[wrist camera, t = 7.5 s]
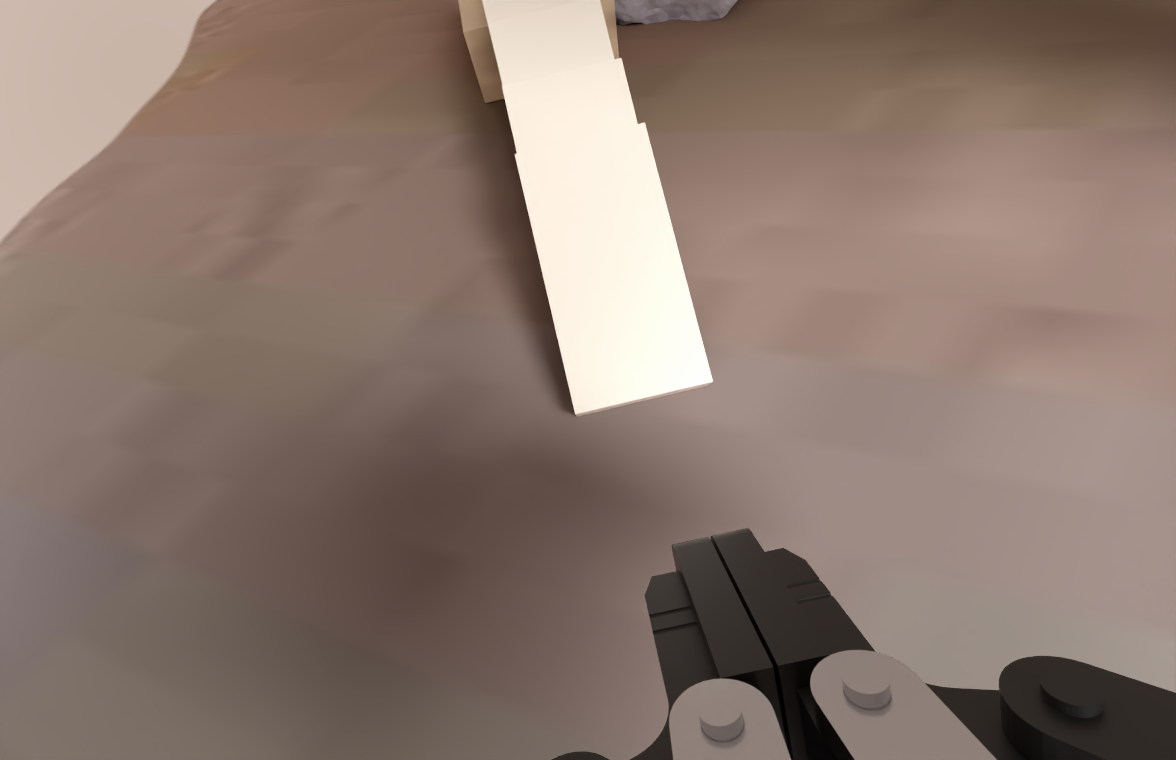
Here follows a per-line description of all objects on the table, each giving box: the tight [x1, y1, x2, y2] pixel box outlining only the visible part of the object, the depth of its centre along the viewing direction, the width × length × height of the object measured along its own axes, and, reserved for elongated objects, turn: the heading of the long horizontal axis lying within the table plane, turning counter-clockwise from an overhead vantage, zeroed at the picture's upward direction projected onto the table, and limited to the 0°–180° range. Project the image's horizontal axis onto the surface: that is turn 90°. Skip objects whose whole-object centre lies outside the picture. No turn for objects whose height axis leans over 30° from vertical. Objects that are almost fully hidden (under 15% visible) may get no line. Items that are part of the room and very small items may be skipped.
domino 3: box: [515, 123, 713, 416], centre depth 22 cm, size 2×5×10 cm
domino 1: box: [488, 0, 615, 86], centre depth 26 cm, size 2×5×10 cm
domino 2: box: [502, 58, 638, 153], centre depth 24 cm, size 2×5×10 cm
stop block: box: [459, 0, 619, 103], centre depth 33 cm, size 8×8×4 cm
